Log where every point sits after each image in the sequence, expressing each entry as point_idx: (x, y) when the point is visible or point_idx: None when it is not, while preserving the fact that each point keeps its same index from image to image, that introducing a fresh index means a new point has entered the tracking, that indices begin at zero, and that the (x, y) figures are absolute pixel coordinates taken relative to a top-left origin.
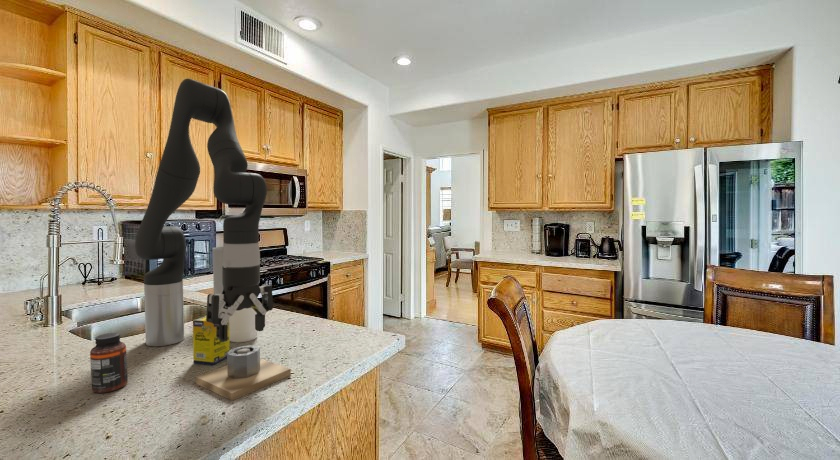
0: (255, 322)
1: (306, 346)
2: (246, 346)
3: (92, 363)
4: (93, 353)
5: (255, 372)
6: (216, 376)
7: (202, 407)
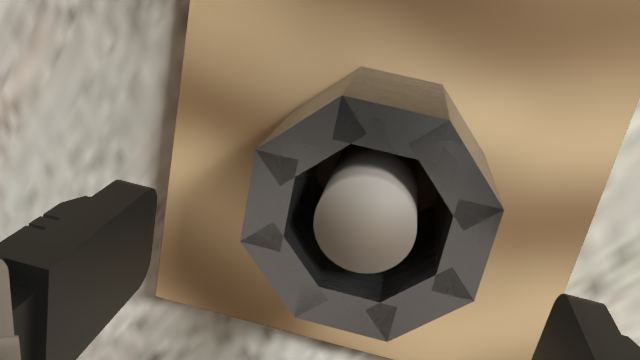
0: (580, 351)
1: None
2: (457, 174)
3: None
4: None
5: None
6: (262, 42)
7: (69, 198)
